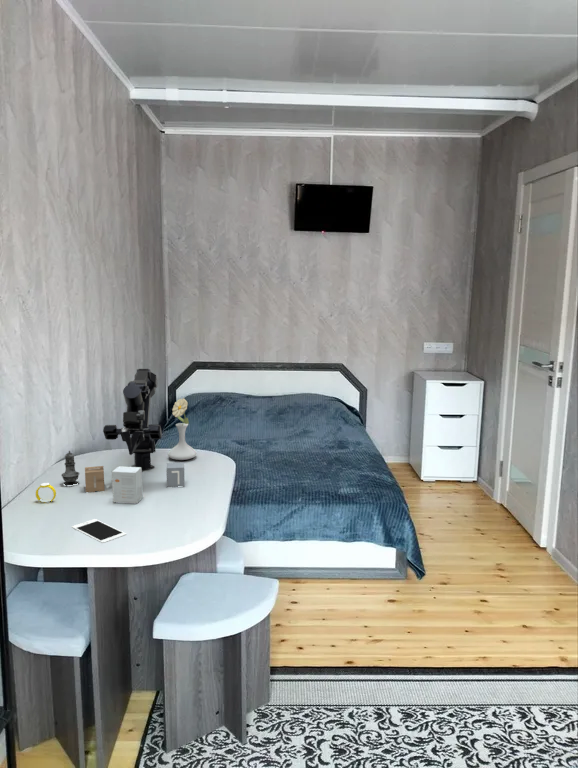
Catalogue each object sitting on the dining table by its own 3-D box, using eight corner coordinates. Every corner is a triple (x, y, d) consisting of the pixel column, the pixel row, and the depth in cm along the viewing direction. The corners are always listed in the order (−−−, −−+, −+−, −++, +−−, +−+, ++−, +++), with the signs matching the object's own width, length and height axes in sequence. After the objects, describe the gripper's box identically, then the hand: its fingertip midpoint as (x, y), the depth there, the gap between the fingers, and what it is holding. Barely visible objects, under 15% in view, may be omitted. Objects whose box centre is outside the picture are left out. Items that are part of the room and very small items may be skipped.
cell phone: (95, 520, 179) (95, 518, 179) (127, 535, 169) (127, 533, 169) (71, 528, 173) (71, 526, 173) (102, 544, 163) (102, 542, 163)
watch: (35, 504, 191) (33, 486, 190) (39, 501, 194) (36, 483, 193) (54, 502, 191) (52, 485, 190) (57, 499, 194) (55, 482, 193)
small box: (143, 498, 197) (142, 467, 195) (136, 504, 192) (136, 472, 190) (119, 496, 198) (118, 465, 196) (112, 502, 192) (111, 471, 191)
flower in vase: (165, 455, 244) (163, 395, 240) (192, 452, 249) (192, 393, 244) (172, 464, 232) (171, 401, 228) (201, 461, 237) (200, 399, 233)
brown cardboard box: (85, 487, 207) (84, 466, 205) (104, 485, 209) (103, 465, 207) (85, 493, 201) (84, 472, 200) (104, 491, 203) (103, 470, 202)
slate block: (167, 482, 213) (166, 463, 212) (184, 481, 214) (184, 462, 213) (166, 488, 207) (166, 468, 206) (184, 487, 208) (184, 467, 207)
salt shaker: (58, 485, 208) (56, 451, 206) (70, 480, 213) (68, 447, 211) (71, 487, 205) (70, 453, 203) (83, 482, 211) (82, 449, 209)
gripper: (103, 401, 201) (97, 442, 193) (159, 401, 203) (156, 442, 194) (108, 418, 210) (103, 458, 202) (162, 418, 212) (160, 458, 204)
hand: (130, 454), depth 200 cm, fingers closed
